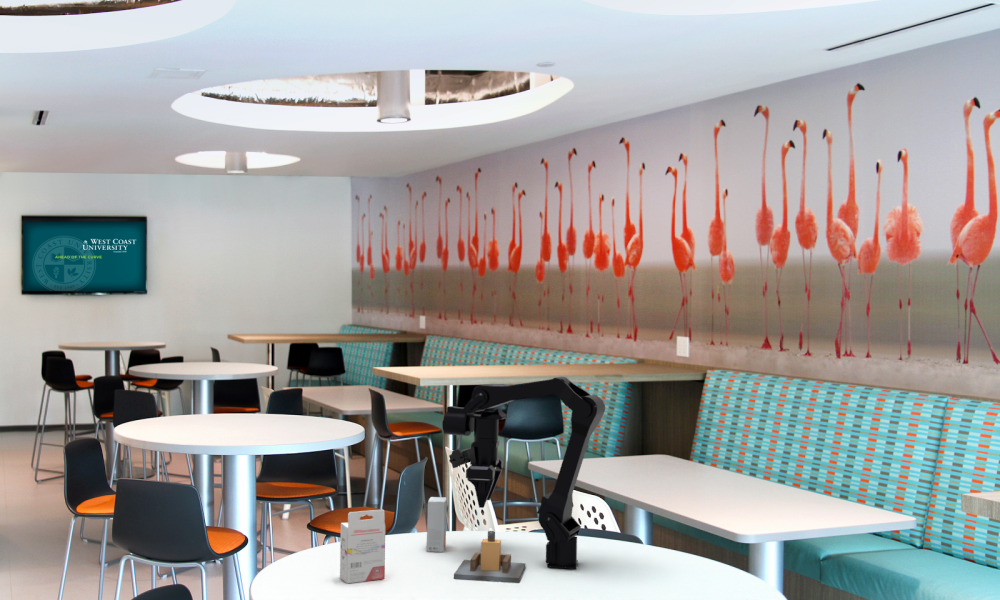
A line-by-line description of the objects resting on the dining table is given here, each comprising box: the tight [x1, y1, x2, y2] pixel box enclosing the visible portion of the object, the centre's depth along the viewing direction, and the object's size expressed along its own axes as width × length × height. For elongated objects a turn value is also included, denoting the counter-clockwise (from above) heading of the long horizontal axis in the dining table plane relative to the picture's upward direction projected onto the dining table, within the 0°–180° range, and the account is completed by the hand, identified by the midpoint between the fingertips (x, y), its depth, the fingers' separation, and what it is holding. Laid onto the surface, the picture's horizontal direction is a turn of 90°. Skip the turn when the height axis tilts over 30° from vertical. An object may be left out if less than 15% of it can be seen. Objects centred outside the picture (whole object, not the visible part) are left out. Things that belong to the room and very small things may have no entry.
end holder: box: [453, 551, 527, 584], centre depth 196 cm, size 14×12×4 cm
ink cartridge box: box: [339, 509, 386, 584], centre depth 190 cm, size 9×5×15 cm, turn 117°
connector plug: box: [480, 530, 502, 571], centre depth 196 cm, size 4×3×8 cm
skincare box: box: [426, 496, 448, 553], centre depth 217 cm, size 6×4×12 cm
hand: (484, 503), depth 212 cm, fingers open, 9 cm apart
